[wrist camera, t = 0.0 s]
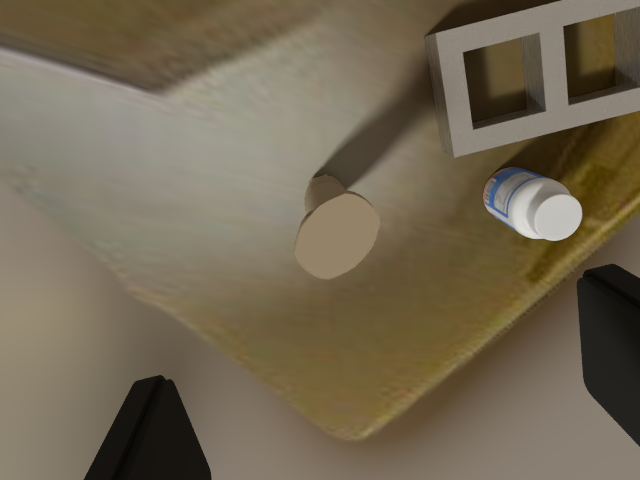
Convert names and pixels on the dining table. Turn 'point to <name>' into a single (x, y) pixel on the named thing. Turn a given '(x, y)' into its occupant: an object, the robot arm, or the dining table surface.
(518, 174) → the pill bottle
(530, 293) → the dining table surface
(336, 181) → the handle
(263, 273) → the dining table surface
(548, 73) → the hollow concrete block
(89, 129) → the dining table surface
